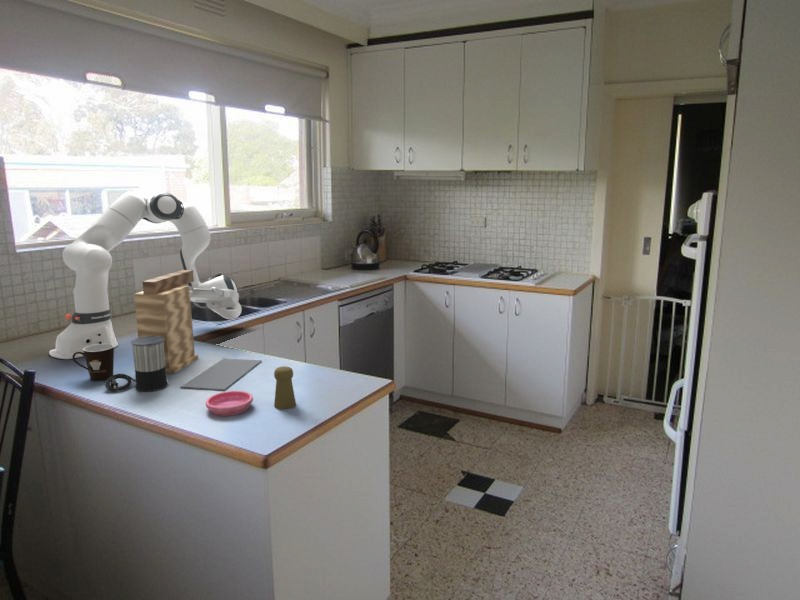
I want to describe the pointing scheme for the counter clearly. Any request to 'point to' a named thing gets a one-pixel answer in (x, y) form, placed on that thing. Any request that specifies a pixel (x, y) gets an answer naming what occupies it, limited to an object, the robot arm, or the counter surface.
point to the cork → (284, 388)
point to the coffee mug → (98, 361)
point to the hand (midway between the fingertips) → (201, 288)
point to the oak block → (168, 324)
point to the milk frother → (145, 366)
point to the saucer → (229, 402)
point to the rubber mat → (221, 374)
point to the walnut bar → (167, 282)
